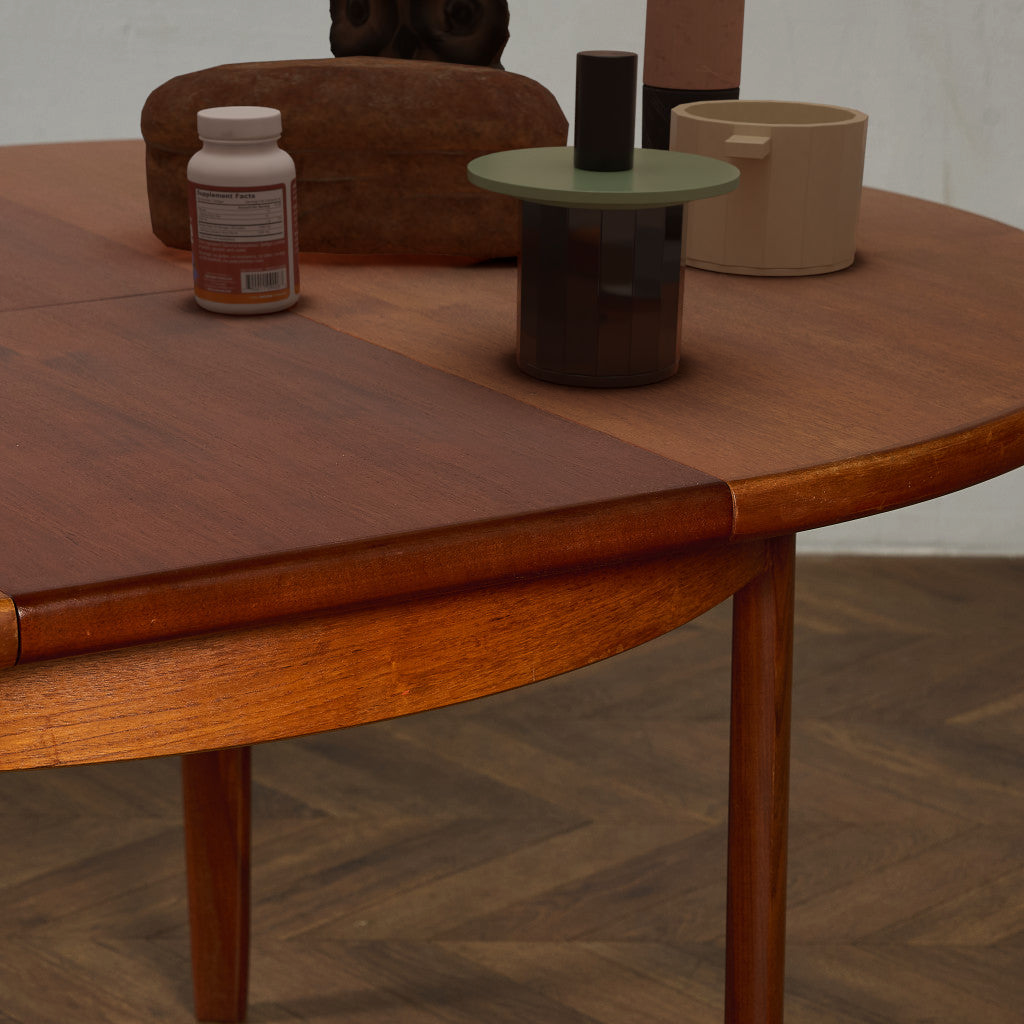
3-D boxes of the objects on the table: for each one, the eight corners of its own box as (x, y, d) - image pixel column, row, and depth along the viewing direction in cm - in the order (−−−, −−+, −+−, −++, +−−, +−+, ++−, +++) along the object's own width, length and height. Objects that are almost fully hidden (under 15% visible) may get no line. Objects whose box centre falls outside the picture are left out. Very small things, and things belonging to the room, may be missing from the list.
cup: (708, 362, 86) (719, 190, 83) (618, 398, 80) (625, 214, 76) (579, 334, 91) (584, 171, 87) (484, 366, 84) (486, 192, 81)
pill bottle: (230, 287, 100) (221, 101, 96) (319, 297, 98) (314, 108, 93) (173, 309, 94) (161, 114, 90) (266, 321, 92) (258, 121, 88)
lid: (760, 178, 86) (769, 47, 84) (708, 226, 74) (717, 74, 71) (514, 162, 90) (516, 35, 87) (427, 205, 78) (427, 59, 75)
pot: (868, 236, 117) (881, 101, 113) (835, 292, 101) (849, 136, 97) (695, 223, 120) (702, 91, 117) (637, 275, 104) (643, 124, 101)
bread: (172, 223, 118) (161, 47, 113) (563, 229, 118) (567, 53, 113) (129, 265, 105) (115, 68, 100) (568, 272, 105) (573, 76, 100)
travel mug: (639, 202, 128) (651, -69, 121) (636, 184, 135) (647, -72, 128) (737, 204, 128) (755, -67, 120) (728, 186, 135) (745, -70, 128)
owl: (525, 196, 129) (530, -72, 122) (380, 209, 123) (375, -72, 116) (453, 172, 139) (454, -77, 132) (316, 182, 134) (308, -77, 126)
